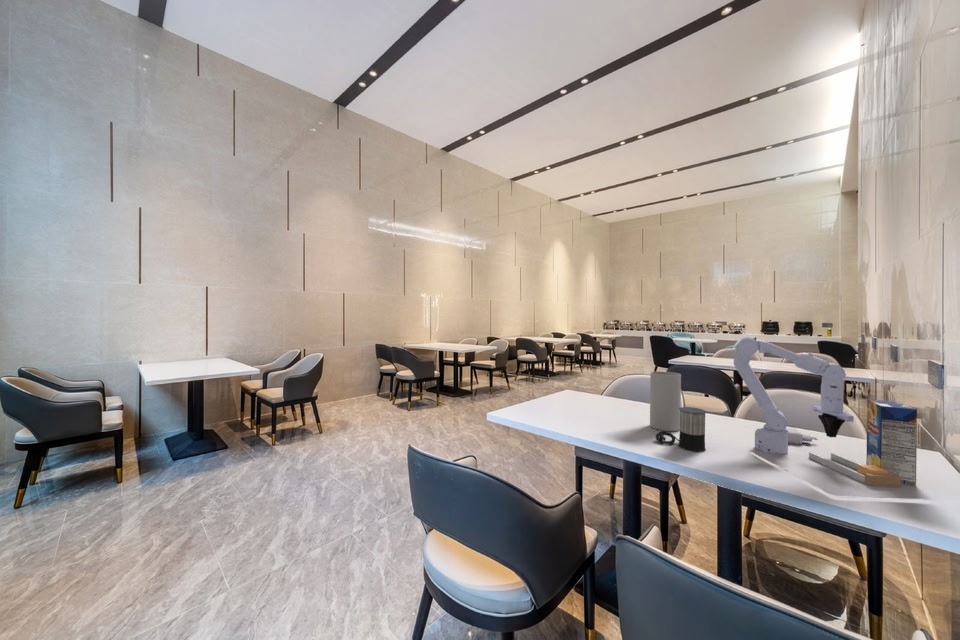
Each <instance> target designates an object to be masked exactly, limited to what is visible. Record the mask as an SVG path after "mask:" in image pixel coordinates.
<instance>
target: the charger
mask: <svg viewBox="0 0 960 640" xmlns="http://www.w3.org/2000/svg"><path fill="white" fill-rule="evenodd" d="M786 428H787V429H788V444H793V445H799V444H800V445H802V444H803V441H804V442H808V443H809V442H813V440H814V441H818V440H819V439H818V438H817V437H815V436H814V437H813V436H811V435H810V434H807V433H806V434H805V433H801V432H800V431H799V429H796V428H792V427H786Z"/></svg>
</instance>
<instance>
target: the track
mask: <svg viewBox="0 0 960 640" xmlns="http://www.w3.org/2000/svg"><path fill="white" fill-rule="evenodd" d="M808 459H810V460H813V461H815V462H817V463H819V464H821V465H822V466H823V465H824V466H825V467H828V468H829V469H832V470H834V471H837V472H838V473H841V474H842V475H845V476H846V477H850V478H851V479H854V480H855V481H858V482H860V483H862V484H864V485H867V486H869V487H887V488H890V487H891V488H901V483H900V479H901V477H900V476H897V475H892V474H865V475H862V474H860V473H858V465H863V464H861V463H859V462H856V461H853V460H852V459H849V458H847V457H844V456H842V455H839V454H836V453H835V452H831V453H830V458H829V457H827V458H826V457H823V456H822V455H819V454H816V453H814V452H812V451H811V452H810V451H809V452H808Z"/></svg>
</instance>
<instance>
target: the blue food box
mask: <svg viewBox="0 0 960 640" xmlns="http://www.w3.org/2000/svg"><path fill="white" fill-rule="evenodd" d="M866 406H867V407H866V461H865V462H866V464H865V465H874V466H877V467H879V468H882V469H884V470H887V471H888V474H892V475H897V476H900V477H901V479H900V484H903V485H907V486H908V485H909V486H915V487H916V486H917V447H918V445H917V444H918V443H917V442H918V441H917V439H918V438H917V437H918V436H917V433H918V430H917V429H918V426H917V425H918V424H917V423H918V409H917V408H914V407H912V406H910V405H907V404H906V403H902V402H901V401H890V400H880V399H870V398H869V399H868V398H867V399H866Z"/></svg>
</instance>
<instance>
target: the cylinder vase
mask: <svg viewBox="0 0 960 640" xmlns="http://www.w3.org/2000/svg"><path fill="white" fill-rule="evenodd" d="M649 378H650V380H649V382H650V385H649V386H650V388H649V393H650V394H649V397H650V398H649V426H650V428H652V429H654V430H657V429H658V431H666V432H678V431H680V410H679V408H681V407H682V406H681V404H682V403H681V402H682V401H681V399H682V397H681V396H682V387H681V386H682V380H681V379H682V374H681V373H678V372H671V371H651V372H650V377H649Z"/></svg>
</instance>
